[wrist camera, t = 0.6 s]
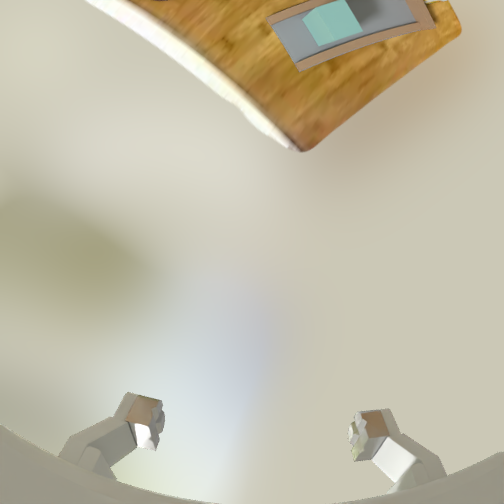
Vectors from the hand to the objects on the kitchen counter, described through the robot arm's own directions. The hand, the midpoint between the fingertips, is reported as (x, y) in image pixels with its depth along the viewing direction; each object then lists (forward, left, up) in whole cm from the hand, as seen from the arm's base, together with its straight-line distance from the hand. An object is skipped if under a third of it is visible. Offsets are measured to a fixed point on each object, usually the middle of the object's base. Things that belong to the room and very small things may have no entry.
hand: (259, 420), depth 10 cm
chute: (-13, +30, -48) cm, 58 cm away
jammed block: (-13, +23, -48) cm, 55 cm away
